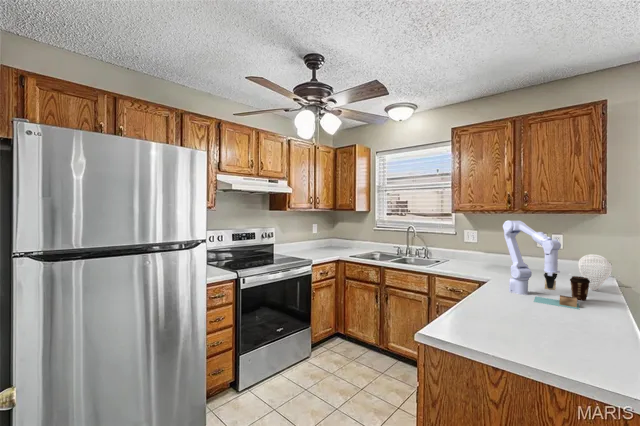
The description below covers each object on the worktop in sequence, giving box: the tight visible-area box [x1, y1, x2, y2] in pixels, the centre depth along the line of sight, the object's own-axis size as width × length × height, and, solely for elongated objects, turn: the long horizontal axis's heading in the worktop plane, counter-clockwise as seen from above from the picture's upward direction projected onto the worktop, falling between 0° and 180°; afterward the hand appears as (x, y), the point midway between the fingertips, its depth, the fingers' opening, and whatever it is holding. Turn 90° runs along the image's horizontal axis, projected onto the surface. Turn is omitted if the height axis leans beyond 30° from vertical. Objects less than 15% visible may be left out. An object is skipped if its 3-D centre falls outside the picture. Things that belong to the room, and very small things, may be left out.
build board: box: [533, 296, 580, 310], centre depth 166 cm, size 19×14×1 cm
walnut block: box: [559, 295, 578, 307], centre depth 163 cm, size 7×7×4 cm
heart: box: [578, 253, 613, 291], centre depth 198 cm, size 28×16×22 cm, turn 140°
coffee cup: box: [569, 275, 591, 302], centre depth 174 cm, size 9×8×13 cm
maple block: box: [544, 279, 557, 291], centre depth 167 cm, size 4×4×4 cm
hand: (550, 287), depth 167 cm, fingers closed on maple block, 4 cm apart
